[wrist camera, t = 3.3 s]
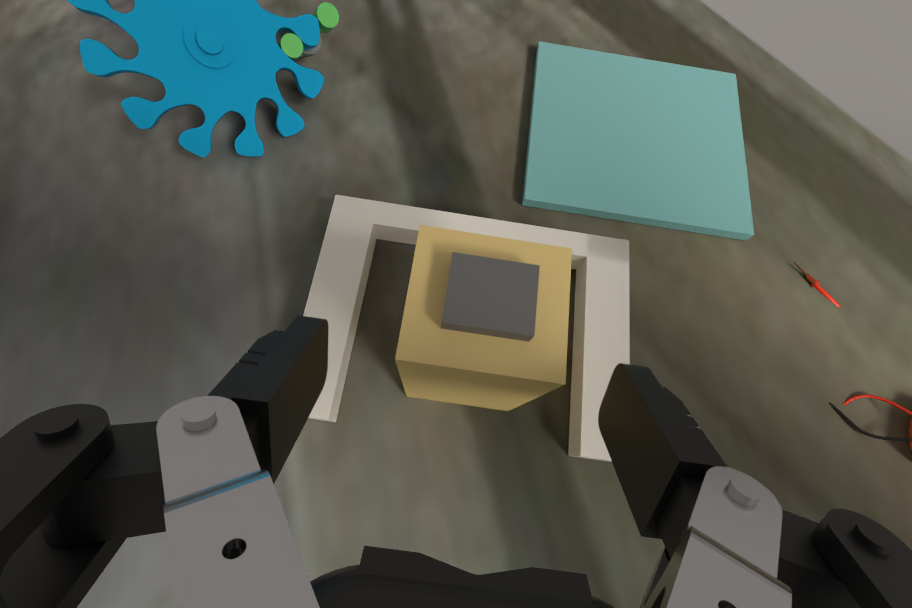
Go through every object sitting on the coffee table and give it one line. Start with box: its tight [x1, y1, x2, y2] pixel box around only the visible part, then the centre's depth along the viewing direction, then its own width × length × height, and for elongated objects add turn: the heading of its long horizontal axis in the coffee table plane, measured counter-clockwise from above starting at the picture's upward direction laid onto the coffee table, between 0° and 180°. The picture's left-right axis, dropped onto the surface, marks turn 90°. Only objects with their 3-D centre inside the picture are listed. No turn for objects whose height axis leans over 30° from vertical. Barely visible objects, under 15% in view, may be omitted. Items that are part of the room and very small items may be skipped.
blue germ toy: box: [67, 0, 339, 158], centre depth 21 cm, size 11×6×10 cm
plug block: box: [395, 225, 572, 411], centre depth 15 cm, size 4×4×9 cm
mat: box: [522, 41, 754, 240], centre depth 24 cm, size 12×11×1 cm
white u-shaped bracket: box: [303, 195, 630, 462], centre depth 19 cm, size 14×10×2 cm
